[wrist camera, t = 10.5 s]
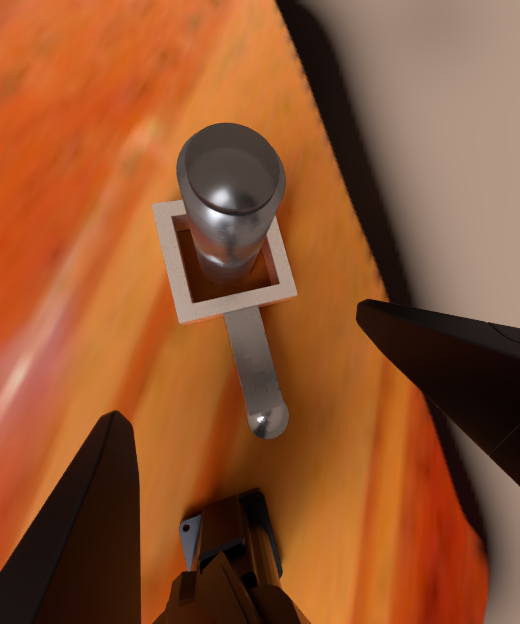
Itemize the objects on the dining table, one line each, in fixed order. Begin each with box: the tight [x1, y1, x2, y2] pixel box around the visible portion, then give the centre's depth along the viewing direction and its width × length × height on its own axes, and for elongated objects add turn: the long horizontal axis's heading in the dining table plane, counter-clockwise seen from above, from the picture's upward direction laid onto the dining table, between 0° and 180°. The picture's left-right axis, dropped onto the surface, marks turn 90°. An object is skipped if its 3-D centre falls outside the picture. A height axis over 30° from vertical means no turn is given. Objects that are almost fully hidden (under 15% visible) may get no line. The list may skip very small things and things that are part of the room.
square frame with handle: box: [151, 200, 298, 439], centre depth 19 cm, size 20×9×2 cm, turn 14°
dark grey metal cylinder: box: [176, 123, 286, 288], centre depth 15 cm, size 5×5×12 cm
